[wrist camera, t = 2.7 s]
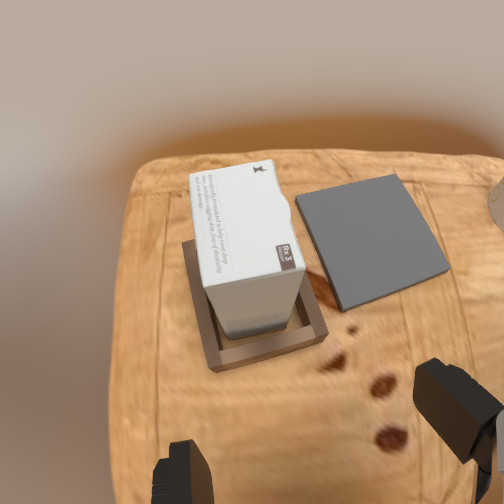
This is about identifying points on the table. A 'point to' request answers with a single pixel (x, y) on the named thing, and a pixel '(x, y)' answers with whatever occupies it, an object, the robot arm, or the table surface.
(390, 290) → the charcoal mat
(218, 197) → the skincare box
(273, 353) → the walnut collar
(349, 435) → the table surface
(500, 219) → the grey patterned cylinder
